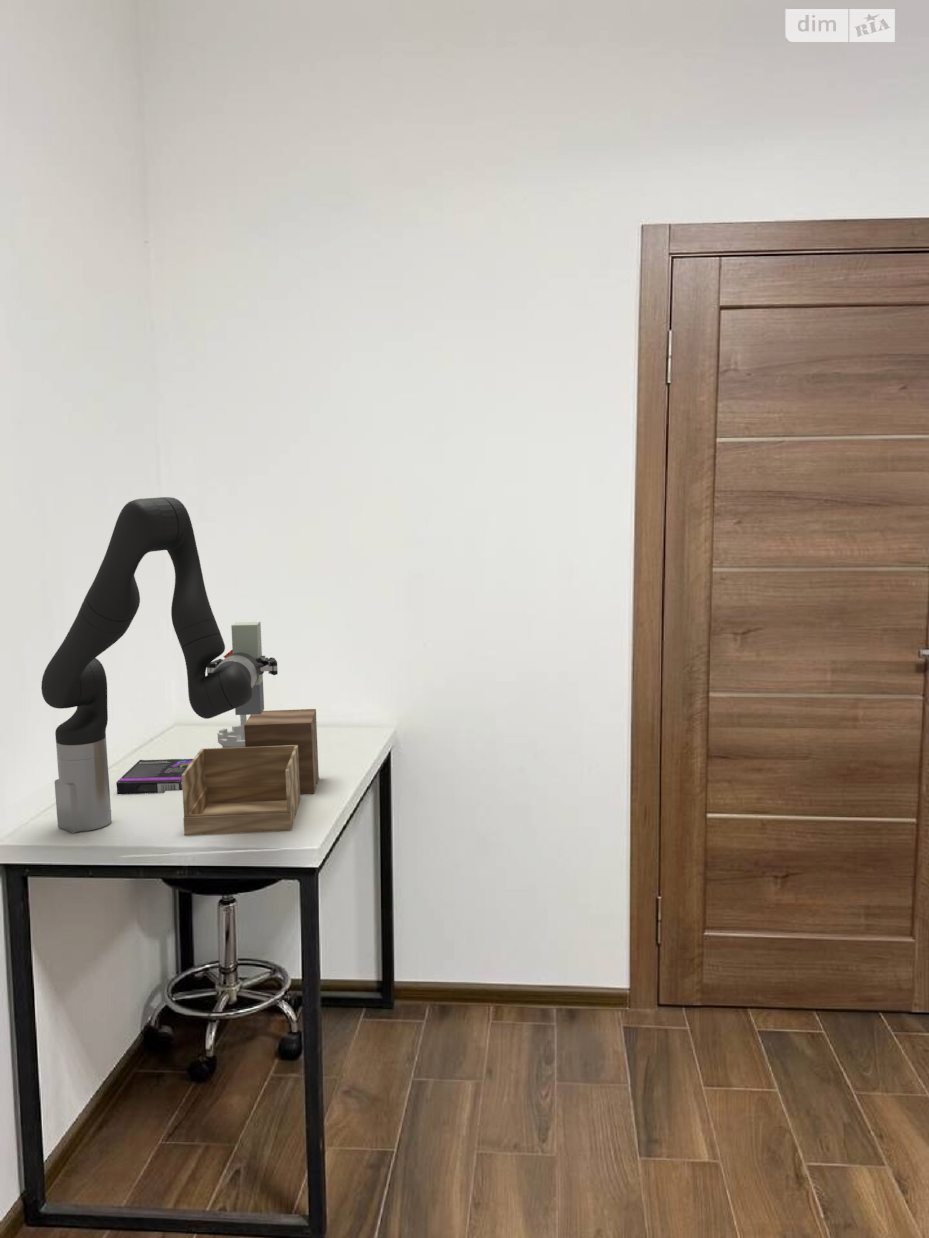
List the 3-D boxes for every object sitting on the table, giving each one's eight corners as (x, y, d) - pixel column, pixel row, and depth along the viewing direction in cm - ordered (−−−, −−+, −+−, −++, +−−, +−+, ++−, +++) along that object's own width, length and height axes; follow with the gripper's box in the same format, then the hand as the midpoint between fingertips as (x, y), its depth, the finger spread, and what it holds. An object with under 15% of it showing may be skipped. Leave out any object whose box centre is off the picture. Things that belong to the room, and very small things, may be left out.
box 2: (260, 714, 204) (256, 624, 202) (235, 715, 204) (231, 625, 201) (264, 709, 209) (260, 621, 207) (239, 709, 209) (235, 622, 206)
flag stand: (249, 742, 267) (243, 628, 263) (281, 749, 259) (276, 632, 255) (207, 752, 257) (201, 635, 253) (240, 760, 249) (234, 639, 245)
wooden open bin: (291, 832, 195) (288, 771, 193) (184, 837, 194) (180, 775, 192) (300, 800, 215) (298, 744, 214) (204, 804, 214) (201, 748, 212)
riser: (314, 795, 218) (311, 722, 216) (247, 798, 217) (244, 725, 215) (318, 777, 232) (315, 708, 230) (256, 780, 231) (253, 711, 229)
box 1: (180, 796, 223) (200, 770, 243) (180, 781, 223) (199, 756, 242) (116, 797, 223) (140, 771, 242) (115, 782, 222) (139, 757, 242)
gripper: (274, 654, 191) (284, 641, 208) (196, 656, 190) (213, 643, 207) (275, 694, 192) (286, 678, 209) (198, 696, 191) (215, 680, 208)
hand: (249, 661), depth 208 cm, fingers closed on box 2, 5 cm apart
